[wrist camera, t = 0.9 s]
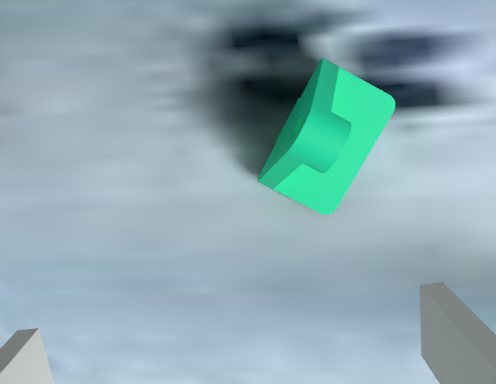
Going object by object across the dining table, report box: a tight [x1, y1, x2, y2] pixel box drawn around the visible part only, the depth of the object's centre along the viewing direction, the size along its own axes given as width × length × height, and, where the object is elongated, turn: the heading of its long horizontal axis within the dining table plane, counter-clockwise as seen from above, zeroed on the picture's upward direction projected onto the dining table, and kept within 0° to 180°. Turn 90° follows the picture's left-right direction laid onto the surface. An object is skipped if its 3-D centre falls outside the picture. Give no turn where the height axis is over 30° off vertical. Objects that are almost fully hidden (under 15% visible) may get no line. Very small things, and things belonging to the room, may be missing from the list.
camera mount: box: [258, 58, 395, 214], centre depth 35 cm, size 12×8×10 cm, turn 153°
